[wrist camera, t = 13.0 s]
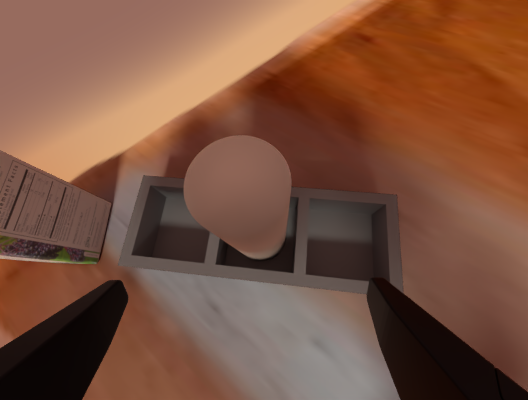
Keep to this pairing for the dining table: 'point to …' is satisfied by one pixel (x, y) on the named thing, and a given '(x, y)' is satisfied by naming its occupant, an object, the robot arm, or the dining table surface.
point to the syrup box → (48, 216)
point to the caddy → (295, 248)
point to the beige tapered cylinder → (241, 194)
